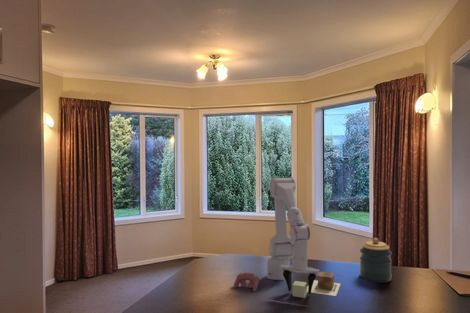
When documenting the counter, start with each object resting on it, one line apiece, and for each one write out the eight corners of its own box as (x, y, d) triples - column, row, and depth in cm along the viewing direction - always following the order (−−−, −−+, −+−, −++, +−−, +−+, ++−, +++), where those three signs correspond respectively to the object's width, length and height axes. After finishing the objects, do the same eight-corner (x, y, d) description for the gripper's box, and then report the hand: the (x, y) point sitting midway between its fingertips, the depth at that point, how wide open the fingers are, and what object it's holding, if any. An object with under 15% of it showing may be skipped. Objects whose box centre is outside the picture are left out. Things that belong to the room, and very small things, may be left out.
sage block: (292, 297, 143) (292, 284, 142) (295, 293, 147) (295, 280, 147) (304, 299, 141) (304, 286, 141) (306, 295, 145) (306, 282, 145)
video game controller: (258, 292, 151) (261, 275, 154) (255, 291, 148) (257, 273, 150) (236, 289, 155) (239, 271, 158) (232, 287, 152) (235, 270, 154)
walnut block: (317, 288, 150) (317, 275, 150) (320, 283, 155) (320, 271, 155) (331, 290, 148) (332, 277, 148) (333, 285, 153) (334, 273, 153)
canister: (358, 281, 160) (358, 240, 159) (360, 271, 172) (360, 233, 171) (391, 285, 155) (392, 243, 154) (391, 275, 167) (391, 236, 166)
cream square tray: (304, 292, 147) (304, 291, 147) (311, 281, 160) (311, 279, 160) (335, 297, 142) (335, 295, 142) (340, 285, 155) (340, 283, 155)
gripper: (278, 257, 142) (278, 292, 143) (316, 261, 137) (316, 298, 137) (283, 252, 149) (283, 286, 149) (320, 256, 143) (320, 291, 144)
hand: (299, 291), depth 144 cm, fingers open, 7 cm apart
